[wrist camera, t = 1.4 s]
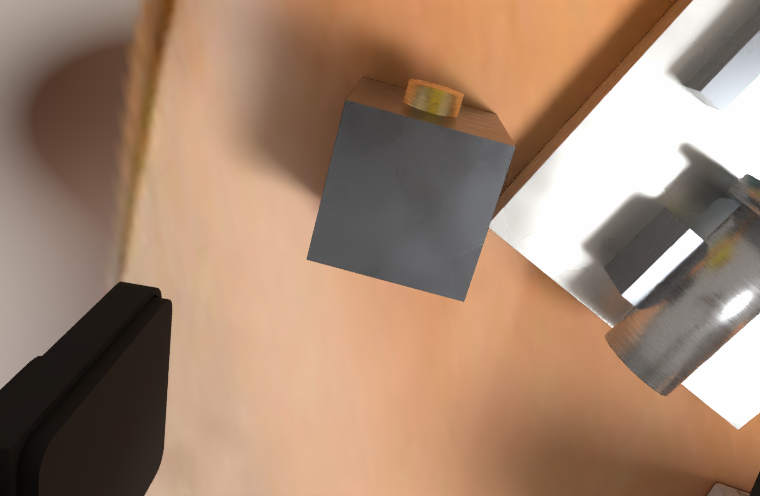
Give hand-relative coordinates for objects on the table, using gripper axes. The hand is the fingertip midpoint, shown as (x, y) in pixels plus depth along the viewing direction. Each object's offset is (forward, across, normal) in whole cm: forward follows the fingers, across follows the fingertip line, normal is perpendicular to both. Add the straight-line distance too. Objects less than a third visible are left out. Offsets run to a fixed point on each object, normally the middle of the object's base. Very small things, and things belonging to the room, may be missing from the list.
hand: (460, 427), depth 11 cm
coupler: (+17, +1, 0) cm, 17 cm away
